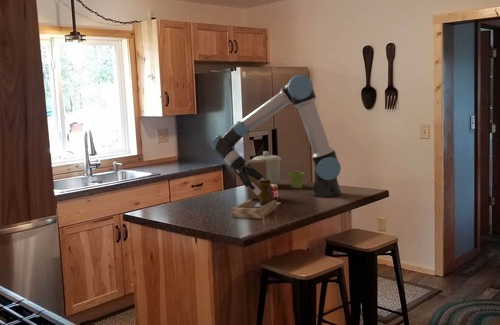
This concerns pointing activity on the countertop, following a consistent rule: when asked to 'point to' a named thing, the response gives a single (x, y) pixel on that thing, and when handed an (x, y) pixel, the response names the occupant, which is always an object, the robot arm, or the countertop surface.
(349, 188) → the countertop surface
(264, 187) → the condiment
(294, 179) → the plant pot
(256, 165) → the block
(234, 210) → the open wooden frame
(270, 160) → the canister
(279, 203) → the trivet
